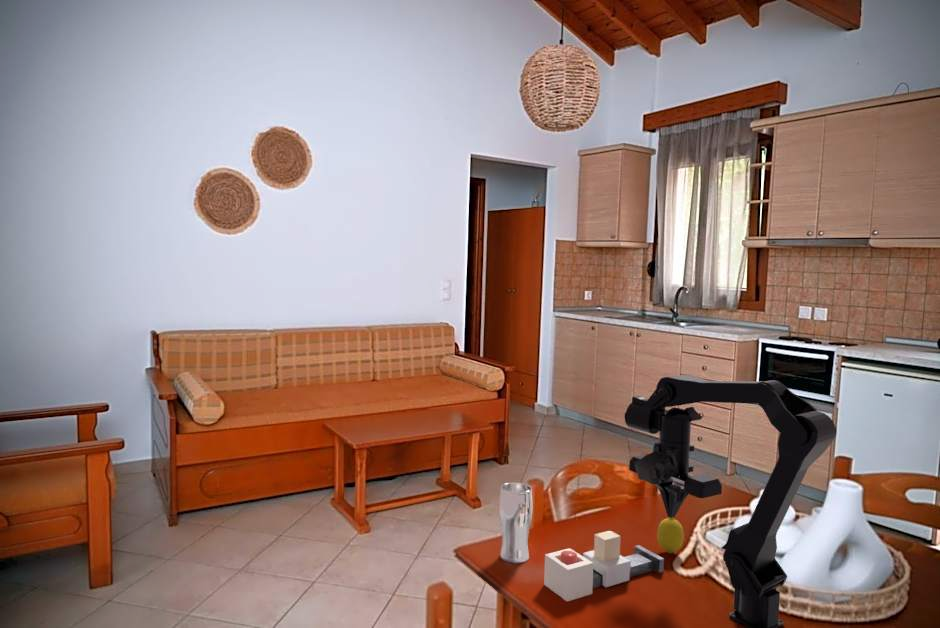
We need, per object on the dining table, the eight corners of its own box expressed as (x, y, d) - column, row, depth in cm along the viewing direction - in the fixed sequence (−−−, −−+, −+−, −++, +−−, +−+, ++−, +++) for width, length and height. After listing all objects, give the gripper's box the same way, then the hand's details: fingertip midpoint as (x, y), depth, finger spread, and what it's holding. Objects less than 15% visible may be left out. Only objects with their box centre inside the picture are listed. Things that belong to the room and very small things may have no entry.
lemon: (684, 560, 131) (686, 523, 131) (657, 557, 132) (659, 520, 132) (681, 549, 136) (682, 513, 136) (655, 546, 138) (656, 511, 137)
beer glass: (492, 559, 130) (494, 489, 129) (506, 546, 136) (508, 479, 135) (523, 567, 126) (525, 495, 125) (536, 554, 133) (538, 485, 132)
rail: (663, 571, 126) (663, 558, 126) (598, 592, 117) (598, 577, 117) (638, 557, 132) (638, 545, 132) (574, 575, 123) (575, 562, 123)
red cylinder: (579, 581, 117) (580, 555, 117) (566, 585, 116) (567, 559, 116) (569, 574, 120) (570, 549, 120) (557, 578, 118) (557, 552, 118)
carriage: (629, 580, 121) (631, 539, 121) (606, 587, 118) (608, 545, 118) (605, 565, 127) (606, 525, 127) (582, 572, 124) (584, 531, 124)
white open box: (592, 593, 116) (593, 562, 116) (567, 601, 114) (568, 569, 113) (568, 577, 123) (569, 548, 122) (544, 584, 120) (545, 554, 119)
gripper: (610, 432, 125) (607, 508, 126) (683, 457, 109) (679, 543, 110) (650, 426, 131) (647, 499, 132) (725, 449, 115) (721, 531, 116)
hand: (671, 517), depth 122 cm, fingers closed
